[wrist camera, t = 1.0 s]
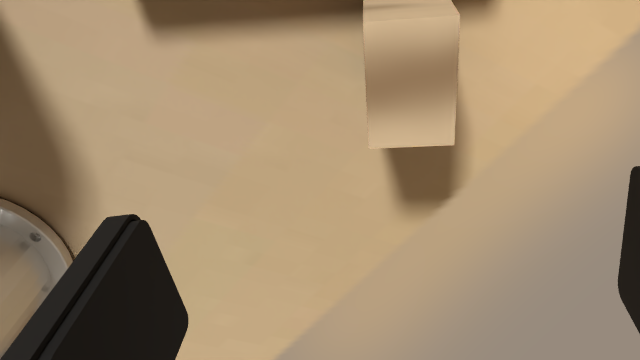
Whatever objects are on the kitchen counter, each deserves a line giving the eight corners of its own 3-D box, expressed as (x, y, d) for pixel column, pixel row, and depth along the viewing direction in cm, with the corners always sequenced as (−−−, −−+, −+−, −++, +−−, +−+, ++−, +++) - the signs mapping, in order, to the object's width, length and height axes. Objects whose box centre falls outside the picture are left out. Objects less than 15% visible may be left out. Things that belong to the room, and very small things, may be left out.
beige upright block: (433, 78, 33) (454, 145, 25) (368, 82, 33) (368, 148, 25) (435, -25, 30) (460, 15, 22) (363, -20, 30) (362, 21, 22)
